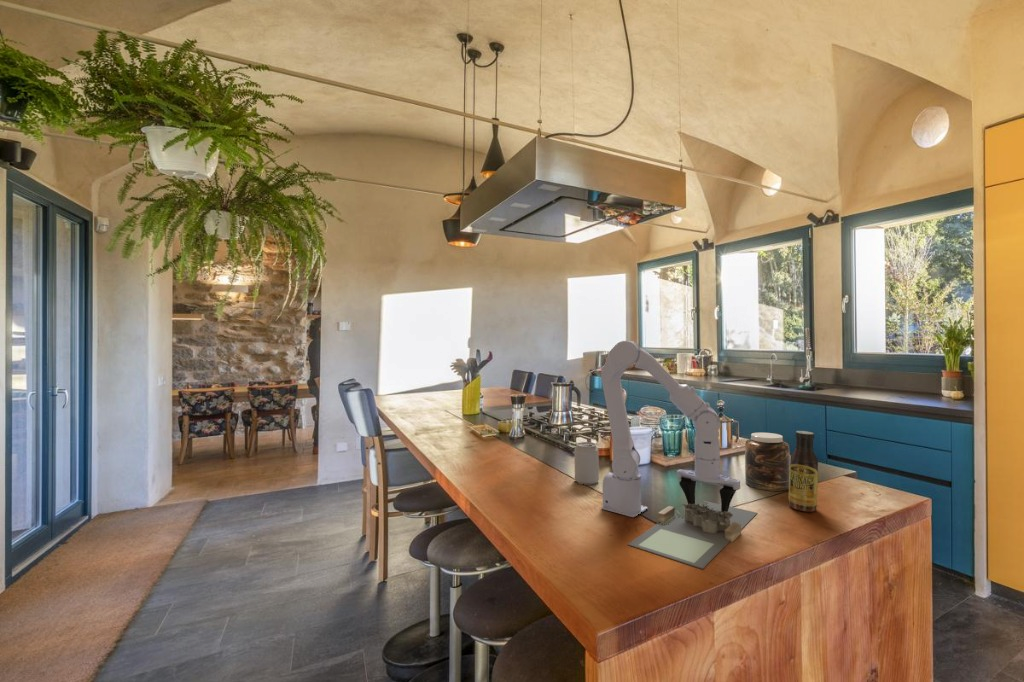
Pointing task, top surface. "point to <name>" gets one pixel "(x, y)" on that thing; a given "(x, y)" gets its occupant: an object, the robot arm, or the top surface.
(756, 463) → the jar
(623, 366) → the robot arm
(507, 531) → the top surface
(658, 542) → the lane mat
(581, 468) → the can
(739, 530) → the lane walls
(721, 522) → the egg carton
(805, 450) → the sauce bottle
